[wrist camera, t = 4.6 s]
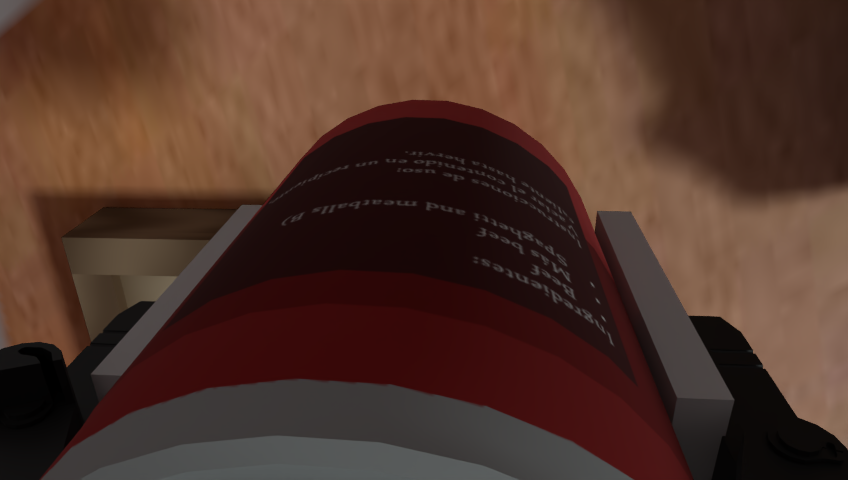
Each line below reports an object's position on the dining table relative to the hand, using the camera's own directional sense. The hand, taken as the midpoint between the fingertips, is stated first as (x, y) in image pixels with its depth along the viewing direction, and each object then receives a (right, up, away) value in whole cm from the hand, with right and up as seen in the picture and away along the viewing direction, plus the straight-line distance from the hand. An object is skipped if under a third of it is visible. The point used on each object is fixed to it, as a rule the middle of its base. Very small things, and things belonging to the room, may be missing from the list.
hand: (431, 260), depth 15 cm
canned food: (0, 0, +1) cm, 1 cm away
